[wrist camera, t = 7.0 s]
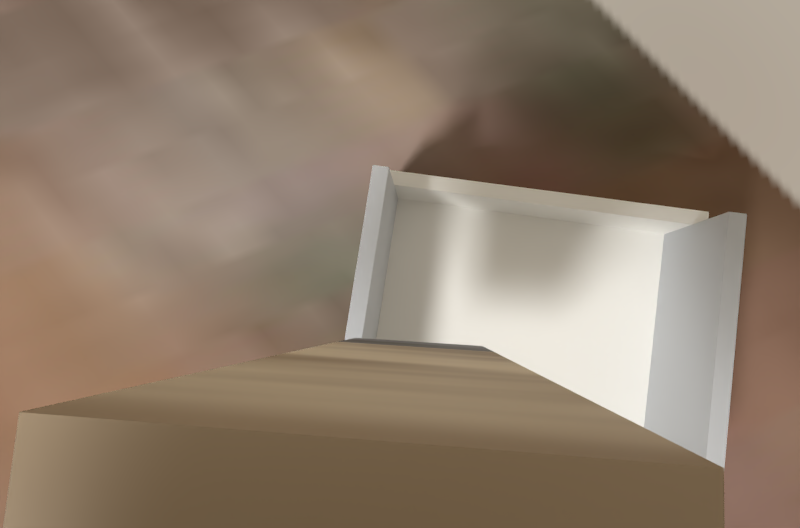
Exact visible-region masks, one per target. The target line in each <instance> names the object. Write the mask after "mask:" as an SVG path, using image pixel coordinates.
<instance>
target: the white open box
mask: <svg viewBox="0 0 800 528" xmlns="http://www.w3.org/2000/svg"><path fill="white" fill-rule="evenodd" d="M708 218H709V212H706V211H699V210H691V209H683V208H676V207H668V206H660V205H653V204H645V203H638V202H630V201H622V200H615V199H607V198H599V197H592V196H584V195H577V194H569V193H561V192H554V191H546V190H538V189H531V188H523V187H516V186H508V185H500V184H493V183H485V182H477V181H470V180H462V179H455V178H447V177H439V176H432V175H424V174H416V173H409V172H401V171H394V170H390V169H389V167H384V166H377V165H373V167H372V174H371V180H370V186H369V192H368V198H367V205H366V211H365V217H364V223H363V229H362V236H361V242H360V248H359V254H358V260H357V267H356V273H355V279H354V285H353V291H352V298H351V304H350V310H349V316H348V322H347V328H346V335H345V340H348V339H352V338H367V339H382V340H398V341H413V342H429V343H444V344H459V345H475V346H483V347H485V348H487V349H489V350H491V351H493V352H495V353H497V354H499V355H501V356H503V357H505V358H507V359H509V360H511V361H513V362H515V363H517V364H519V365H521V366H523V367H525V368H527V369H529V370H531V371H533V372H535V373H537V374H539V375H541V376H543V377H545V378H547V379H549V380H551V381H553V382H555V383H557V384H559V385H561V386H563V387H565V388H567V389H569V390H571V391H572V392H574V393H576V394H578V395H580V396H582V397H584V398H586V399H588V400H590V401H592V402H594V403H596V404H598V405H600V406H602V407H604V408H606V409H608V410H610V411H612V412H614V413H616V414H618V415H620V416H622V417H624V418H626V419H628V420H630V421H632V422H634V423H636V424H638V425H640V426H642V427H644V428H646V429H648V430H650V431H652V432H654V433H656V434H658V435H660V436H662V437H664V438H666V439H668V440H669V441H671V442H673V443H675V444H677V445H679V446H681V447H683V448H685V449H687V450H689V451H691V452H693V453H695V454H697V455H699V456H701V457H703V458H705V459H707V460H709V461H711V462H713V463H715V464H717V465H719V466H721V467H723V468H724V466H725V455H726V443H727V432H728V421H729V410H730V399H731V388H732V377H733V366H734V354H735V343H736V332H737V321H738V310H739V299H740V288H741V277H742V265H743V254H744V243H745V232H746V221H747V214H744V213H736V212H726V213H724V214H721V215H718V216H715V217H712V218H709V219H708Z"/></svg>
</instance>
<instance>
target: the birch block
mask: <svg viewBox="0 0 800 528" xmlns="http://www.w3.org/2000/svg"><path fill="white" fill-rule="evenodd" d="M3 528H724V468H723V467H721V466H719V465H717V464H715V463H713V462H711V461H709V460H707V459H705V458H703V457H701V456H699V455H697V454H695V453H693V452H691V451H689V450H687V449H685V448H683V447H681V446H679V445H677V444H675V443H673V442H671V441H669V440H668V439H666V438H664V437H662V436H660V435H658V434H656V433H654V432H652V431H650V430H648V429H646V428H644V427H642V426H640V425H638V424H636V423H634V422H632V421H630V420H628V419H626V418H624V417H622V416H620V415H618V414H616V413H614V412H612V411H610V410H608V409H606V408H604V407H602V406H600V405H598V404H596V403H594V402H592V401H590V400H588V399H586V398H584V397H582V396H580V395H578V394H576V393H574V392H572V391H571V390H569V389H567V388H565V387H563V386H561V385H559V384H557V383H555V382H553V381H551V380H549V379H547V378H545V377H543V376H541V375H539V374H537V373H535V372H533V371H531V370H529V369H527V368H525V367H523V366H521V365H519V364H517V363H515V362H513V361H511V360H509V359H507V358H505V357H503V356H501V355H499V354H497V353H495V352H493V351H491V350H489V349H487V348H485V347H483V346H475V345H459V344H444V343H429V342H413V341H398V340H382V339H367V338H352V339H348V340H343V341H338V342H334V343H329V344H325V345H320V346H316V347H311V348H307V349H302V350H298V351H293V352H289V353H284V354H280V355H275V356H271V357H266V358H262V359H257V360H253V361H248V362H244V363H239V364H235V365H230V366H225V367H221V368H216V369H212V370H207V371H203V372H198V373H194V374H189V375H185V376H180V377H176V378H171V379H167V380H162V381H158V382H153V383H149V384H144V385H140V386H135V387H131V388H126V389H121V390H117V391H112V392H108V393H103V394H99V395H94V396H90V397H85V398H81V399H76V400H72V401H67V402H63V403H58V404H54V405H49V406H45V407H40V408H36V409H31V410H27V411H22V412H19V417H18V424H17V431H16V439H15V446H14V453H13V460H12V467H11V474H10V481H9V488H8V495H7V502H6V510H5V517H4V524H3Z"/></svg>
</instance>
